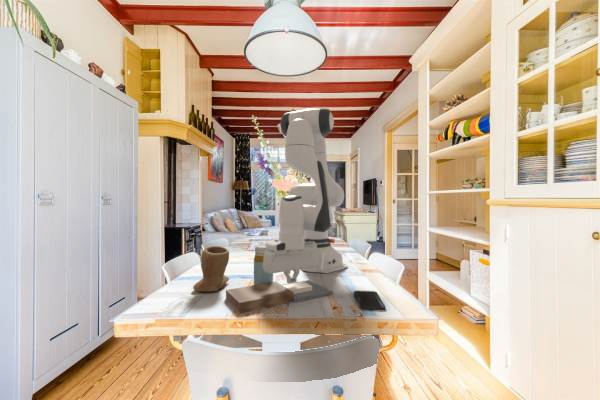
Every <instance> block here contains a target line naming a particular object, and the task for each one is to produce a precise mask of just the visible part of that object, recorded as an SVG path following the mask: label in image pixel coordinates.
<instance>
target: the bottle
mask: <svg viewBox="0 0 600 400" xmlns="http://www.w3.org/2000/svg"><path fill="white" fill-rule="evenodd" d="M266 250H267V248H266V246H265V244H257V245H255V246H254V258H253V285H258V284H264V283H270V282H274V273H272V274H268V273H266V272H265V271H264V270H263V258H264V253H265V251H266Z"/></svg>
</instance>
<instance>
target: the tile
mask: <svg viewBox="0 0 600 400" xmlns="http://www.w3.org/2000/svg"><path fill="white" fill-rule="evenodd" d="M297 282H298V283H292V284H290V283H286V284H287V285H284V284H281V285H282V286H284V287H286V288H287V289H289V290H291V291H293V292H294V294H297V293H302V292H307V291H312V286H311V285H309V284H307V283H305V282H301V281H297Z"/></svg>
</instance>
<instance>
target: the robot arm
mask: <svg viewBox="0 0 600 400" xmlns="http://www.w3.org/2000/svg"><path fill="white" fill-rule="evenodd" d="M279 124H280V130H281V133H282V135H284V136H285V143H284V147H285V148H284V149H285V150H284V157H285V162H286V164H287V166H288V167H289V168H290V169H292V170H293V171H295V172H297V173H300V174H303V175H305V176H308V177H309V178H311V179H312V180H313V181H314V183H300V184H295V185H293V186H292V187H290V190H289V193H288V195H285V196H283V197H281V198H280V203H279V210H278V211H279V213H278V222H279V231H278V237H275V238H274V239H272V240H269V241H267V242H265V244H264V245H265V246H266V248H267V250H266V251H265V253H264V258H263V270H264V271H265V272H266V273H268V274H272V273H273V274H276V273H283V274H284V276H285V278H286V284H290V283H295V282H298V280H297V278H298V277H299V274H300V271H301V270H302V271H304V272H309V273H322V274H329V273H333V272H337V271H340V270H344V269H345V270H346V269H348V268H349V267H348V266H349V265H348V264H347V263H345V262H344V261H343V256H342V253H340V251H338V250H337V249H336V248H335V247H333V246H332V244H335V242H336V239H335V238H332V237H331V238H329V237H328V236H329V229H330V228H331V227H332V226H333V222H334V220H333V217H334V216H333V212H332V208H335V207H340V206H341V205H342V204H343V202H344V199H345V191H344V189H343V187H342V186H341V185H340V184H338V183H337V182H336V181H335V180H334V179H333V177H332V175H331V174H330V172H329V167H328V162H327V161H328V160H327V147H326V146H327V145H326V141H325V139H326V138H327V136H328V135H330V134H331V133H332V132H333V129H334V124H335V119H334V116H333V112H332V111H331V110H330V109H329V108H323V107H320V108H306V109H302V110H301V109H300V110H296V111H295V110H294V111H289V112H288V111H287V112H285V113H284V114H283V115H282V116H281V118H280V123H279ZM291 271H292V272H293V274H292V276H290V274H291Z"/></svg>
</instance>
